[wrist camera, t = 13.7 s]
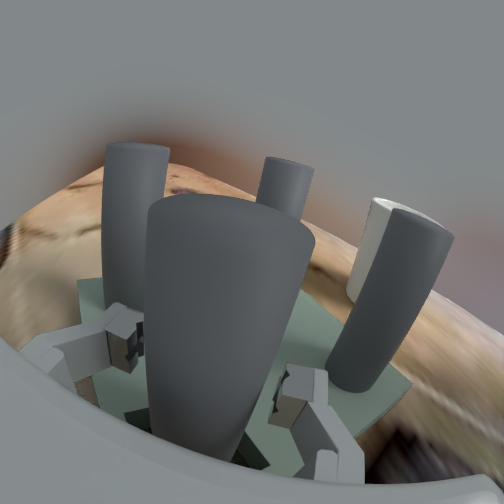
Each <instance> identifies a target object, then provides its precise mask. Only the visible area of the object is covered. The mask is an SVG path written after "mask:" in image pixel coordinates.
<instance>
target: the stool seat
mask: <svg viewBox="0 0 504 504" xmlns="http://www.w3.org/2000/svg"><path fill="white" fill-rule="evenodd" d="M169 154H170V148H168V147H164V146H160V145H154V144H146V143H133V142H118V143H109V144H107V145H106V153H105V163H104V175H103V190H102V216H101V251H102V277H103V278H93V279H81V280H77V287H78V297H79V306H80V314H81V322H82V324H83V323H88V322H89V323H91V324H92V323H93V322H94V321H95V320H96V319H97V318H98V317H99V316H100V315H101V314H103V313H104V312H105V311H106V310H107V309H108V308H109V307H110V306H111V305H112V304H113V303H116V302H119V303H121V304H123V305H125V306H127V307H130V308H132V309H134V310H137V311H139V312H141V313H144V268H145V246H146V230H147V217H148V210H149V208H150V206H151V205H152V204H153V203H154V202H156V201H158V200H160V199H162V198H163V197H164V189H165V181H166V174H167V167H168V161H169ZM313 173H314V169H313V168H311V167H308V166H306V165H303V164H299V163H296V162H293V161H289V160H285V159H279V158H274V157H266V159H265V163H264V168H263V172H262V176H261V181H260V185H259V189H258V194H257V198H256V203H259V204H263V205H266V206H269V207H271V208H274V209H276V210H279V211H281V212H283V213H285V214H288V215H290V216H291V217H293V218H295V219H297V220H298V221H300V220H301V216H302V213H303V209H304V206H305V202H306V199H307V195H308V191H309V188H310V184H311V180H312V176H313ZM453 240H454V236H453V235H452V234H451V233H450V232H449V231H447V230H446V229H444V228H443V227H441V226H439V225H438V224H436V223H434V222H432V221H430V220H428V219H426V218H423V217H421V216H419V215H417V214H414V213H411V212H409V211H406V210H402V209H398V208H393V209H392V212H391V215H390V218H389V221H388V223H387V226H386V229H385V232H384V234H383V237H382V240H381V242H380V245H379V248H378V250H377V253H376V255H375V258H374V260H373V263H372V265H371V268H370V270H369V272H368V275H367V277H366V280H365V282H364V284H363V286H362V289H361V291H360V293H359V296H358V298H357V300H356V302H355V304H354V307H353V309H352V311H351V313H350V315H349V317H348V319H347V321H346V323H345V325H343V324H342V323H341V322H340V321H339V320H338V319H336V318H335V317H334V316H333V315H332V314H330V313H329V312H328V311H327V310H326V309H325V308H323V307H322V306H321V305H320V304H319V303H317V302H316V301H315V300H314V299H313V298H312V297H310V296H309V295H308V294H307V293H306V292H304V291H303V290H302V289H301V288H300V291H299V294H298V297H297V300H296V302H295V305H294V308H293V311H292V314H291V316H290V319H289V322H288V325H287V327H286V330H285V333H284V335H283V338H282V341H281V343H280V346H279V349H278V351H277V354H276V356H275V359H274V361H273V364H272V367H271V369H270V372H269V374H268V377H267V379H266V382H265V384H264V386H263V389H262V391H261V394H260V396H259V399H258V401H257V403H256V406H255V408H254V410H253V413H252V415H251V417H250V420H249V422H248V424H247V427H246V429H245V431H244V433H243V436H242V438H241V440H240V442H239V444H238V447H237V450H238V451H239V453H240V454H241V456H242V457H243V458H244V460H245V461H246V463H247V464H248V465H249V467H250V468H252V469H256V470H260V471H265V472H269V473H274V474H279V475H285V476H290V477H293V476H294V475H295V474H296V473H297V472H298V471H299V470H300V469H301V468H302V467H303V466H304V465H305V464H304V462H303V460H302V458H301V455H300V453H299V451H298V449H297V446H296V444H295V442H294V439H293V437H292V435H291V433H290V429H287V428H283V427H279V426H275V425H271V424H268V423H267V421H268V417H269V412H270V408H271V406H272V404H273V400H272V398H273V394H274V390H275V387H276V384H277V382H278V379H279V377H280V376H282V372H283V368H284V365H285V363H286V362H291V363H295V364H299V365H304V366H308V367H312V368H317V369H322V370H326V371H327V372H328V406H332V408H333V409H334V411H335V412H336V413H337V415H338V416H339V418H340V419H341V421H342V422H343V424H344V425H345V427H346V428H347V429H348V431H349V432H350V434H351V435H352V437H353V438H354V440H355V439H356V438H358V437H359V436H360V435H361V434H363V433H364V432H365V431H366V430H367V429H369V428H370V427H371V426H372V425H373V424H375V423H376V422H377V421H378V420H379V419H380V418H381V417H383V416H384V415H385V414H386V413H387V412H388V411H389V410H390V409H391V408H392V407H393V406H395V405H396V404H397V403H398V401H399V400H400V399H401V398H402V397H403V395H404V394H405V393H406V392H407V391H408V389H409V388H410V387H411V386H412V384H413V383H412V382H411V381H409V380H408V379H407V378H406V377H405V376H404V375H402V374H401V373H400V372H399V371H398V370H397V369H395V368H394V367H393V366H392V365H391V364H389V362H390V360H391V359H392V357H393V356H394V354H395V352H396V351H397V349H398V348H399V346H400V345H401V343H402V341H403V340H404V338H405V336H406V335H407V333H408V331H409V330H410V328H411V326H412V324H413V323H414V321H415V319H416V317H417V316H418V314H419V312H420V310H421V308H422V306H423V305H424V303H425V301H426V299H427V297H428V295H429V293H430V291H431V289H432V287H433V285H434V283H435V281H436V279H437V277H438V275H439V273H440V270H441V268H442V266H443V264H444V261H445V259H446V257H447V255H448V252H449V250H450V248H451V245H452V243H453ZM138 361H139V363H138V364H137V366H136V367H135V368H134V370H133V371H132V372H131V374H129V373H127V372H124V371H122V370H120V369H118V368H116V367H114V366H112V365H111V367H109V368H107V369H105V370H102V371H100V372H98V373H96V374H93V375H91V376H92V380H93V384H94V388H95V392H96V396H97V400H98V403H99V407H100V409H102V410H104V411H106V412H107V413H109V414H111V415H113V416H115V417H117V418H119V419H121V420H123V421H124V422H126V423H128V424H131V425H133V426H135V427H137V428H139V429H141V430H145V429H149V428H151V421H150V413H149V403H148V392H147V380H146V365H145V355H144V356H141V357H138Z"/></svg>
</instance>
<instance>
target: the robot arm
mask: <svg viewBox="0 0 504 504" xmlns="http://www.w3.org/2000/svg"><path fill="white" fill-rule="evenodd" d="M144 355H145V343H144V313H141V312H139V311H137V310H134V309H132V308H130V307H127V306H125V305H123V304H121V303H119V302H116V303H113V304H112V305H111V306H110V307H109V308H108V309H107V310H106V311H105V312H104V313H103V314H101V315H100V316H99V317H98V318H97V319H96V320H95V321H94V322H93V323H92V324H91V323H89V322H88V323H83V324H79V325H75V326H71V327H67V328H62V329H58V330H54V331H50V332H45V333H41V334H38V335H36V336H35V337H34V338H33V339H32V340H31V341H30V342H29V343H27V344H26V345H25V346H24V347H23V348H22V349H21V350H20V351H17V350H16V349H14V348H13V347H12V346H11V345H10V344H9V343H8V342H6V341H5V340H4V339H3V338H2V337H1V336H0V504H504V494H503V492H502V491H501V490H500V488H499V487H498V486H497V485H496V484H495V483H494V481H493V480H492V479H491V478H489V477H488V476H487V475H485V474H477V475H472V476H467V477H461V478H455V479H448V480H441V481H433V482H422V483H408V484H365V463H364V452H363V451H362V450H361V448H360V447H359V445H358V444H357V442H356V441H355V440H354V438H353V437H352V435H351V434H350V432H349V431H348V429H347V428H346V427H345V425H344V424H343V422H342V421H341V419H340V418H339V416H338V415H337V413H336V412H335V411H334V409H333V408H332V406H328V372H327V371H326V370H322V369H317V368H312V367H308V366H304V365H299V364H295V363H291V362H286V363H285V365H284V368H283V372H282V376H280V377H279V379H278V382H277V384H276V387H275V390H274V394H273V398H272V400H273V404H272V406H271V408H270V412H269V417H268V421H267V423H268V424H271V425H275V426H279V427H283V428H287V429H290V433H291V435H292V437H293V439H294V442H295V444H296V446H297V449H298V451H299V453H300V455H301V458H302V460H303V462H304V464H305V465H304V466H303V467H302V468H301V469H300V470H299V471H298V472H297V473H296V474H295V475H294V476H293V477H290V476H285V475H279V474H274V473H269V472H265V471H260V470H256V469H252V468H248V467H244V466H240V465H236V464H233V463H229V462H226V461H222V460H219V459H216V458H213V457H209V456H206V455H203V454H200V453H198V452H195V451H192V450H189V449H186V448H184V447H181V446H178V445H176V444H173V443H171V442H168V441H166V440H164V439H161V438H159V437H156V436H154V435H152V434H150V433H147V432H145V431H143V430H141V429H139V428H137V427H135V426H133V425H131V424H128V423H126V422H124V421H123V420H121V419H119V418H117V417H115V416H113V415H111V414H109V413H107V412H106V411H104V410H102V409H100V408H99V407H97V406H95V405H93V404H92V403H90V402H88V401H87V400H85V399H83V398H82V397H80V396H79V395H78V393H77V390H76V388H75V385H74V383H75V382H77V381H79V380H82V379H84V378H86V377H89V376H91V375H93V374H96V373H98V372H100V371H102V370H105V369H107V368H109V367H111V365H112V366H114V367H116V368H118V369H120V370H122V371H124V372H127V373H129V374H131V372H132V371H133V370H134V368H135V367H136V366H137V364H138V363H139V361H138V357H141V356H144Z"/></svg>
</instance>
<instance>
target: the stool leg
mask: <svg viewBox="0 0 504 504" xmlns="http://www.w3.org/2000/svg"><path fill="white" fill-rule="evenodd" d="M314 246H315V237H314V235H313V233H312V232H311V231H310V230H309V229H308V228H307V227H306V226H305V225H304V224H302V223H301V222H300V221H298V220H297V219H295V218H293V217H291V216H290V215H288V214H285V213H283V212H281V211H279V210H276V209H274V208H271V207H269V206H266V205H263V204H259V203H256V202H252V201H249V200H244V199H240V198H235V197H229V196H222V195H213V194H181V195H174V196H169V197H165V198H162V199H160V200H158V201H156V202H154V203H153V204H152V205H151V206H150V208H149V210H148V217H147V230H146V246H145V268H144V343H145V365H146V380H147V392H148V403H149V413H150V421H151V430H152V435H154V436H156V437H159V438H161V439H164V440H166V441H168V442H171V443H173V444H176V445H178V446H181V447H184V448H186V449H189V450H192V451H195V452H198V453H200V454H203V455H206V456H209V457H213V458H216V459H219V460H222V461H226V462H229V463H230V462H231V460H232V457H233V455H234V453H235V451H236V449H237V447H238V444H239V442H240V440H241V438H242V436H243V433H244V431H245V429H246V427H247V424H248V422H249V420H250V417H251V415H252V413H253V410H254V408H255V406H256V403H257V401H258V399H259V396H260V394H261V391H262V389H263V386H264V384H265V382H266V379H267V377H268V374H269V372H270V369H271V367H272V364H273V361H274V359H275V356H276V354H277V351H278V349H279V346H280V343H281V341H282V338H283V335H284V333H285V330H286V327H287V325H288V322H289V319H290V316H291V314H292V311H293V308H294V305H295V302H296V300H297V297H298V294H299V291H300V288H301V285H302V282H303V279H304V276H305V273H306V270H307V267H308V264H309V261H310V258H311V255H312V252H313V249H314Z"/></svg>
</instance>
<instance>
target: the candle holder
mask: <svg viewBox="0 0 504 504" xmlns="http://www.w3.org/2000/svg"><path fill="white" fill-rule="evenodd" d="M393 208H398V209H402V210H406V211H409V212H411V213H414V214H417V215H419V216H421V217H423V218H426V219H428V220H430V221H432V222H434V223H436V224H438V225H439V226H441V227H443V226H442V225H441V224H439V223H437V222H436V221H434V220H433V219H431V218H429V217H427V216H426V215H424V214H422V213H419V212H417V211H415V210H413V209H411V208H408V207H406V206H403V205H401V204H398V203H395V202H392V201H389V200H386V199H382V198H373V199H372V200H371V206H370V210H369V214H368V217H367V221H366V225H365V228H364V232H363V235H362V239H361V242H360V245H359V248H358V252H357V255H356V258H355V261H354V264H353V267H352V270H351V274H350V277H349V280H348V283H347V287H346V293H347V295H348V297H349V299H350V300H351V301H352V302H353V303H354V304H355V302H356V300H357V298H358V296H359V293H360V291H361V289H362V286H363V284H364V282H365V280H366V277H367V275H368V272H369V270H370V268H371V265H372V263H373V260H374V258H375V255H376V253H377V250H378V248H379V245H380V242H381V240H382V237H383V234H384V232H385V229H386V226H387V223H388V221H389V218H390V215H391V212H392V209H393ZM443 228H444V227H443ZM444 229H445V228H444Z"/></svg>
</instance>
